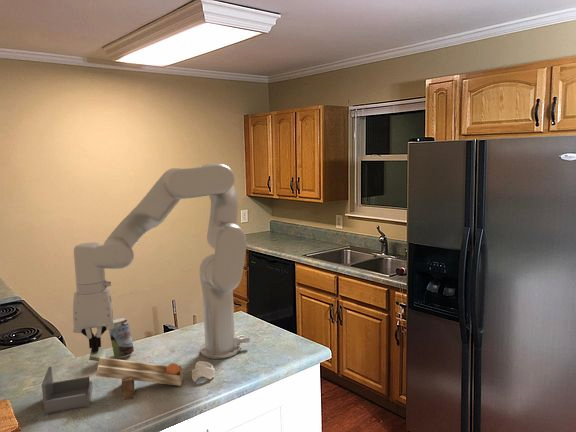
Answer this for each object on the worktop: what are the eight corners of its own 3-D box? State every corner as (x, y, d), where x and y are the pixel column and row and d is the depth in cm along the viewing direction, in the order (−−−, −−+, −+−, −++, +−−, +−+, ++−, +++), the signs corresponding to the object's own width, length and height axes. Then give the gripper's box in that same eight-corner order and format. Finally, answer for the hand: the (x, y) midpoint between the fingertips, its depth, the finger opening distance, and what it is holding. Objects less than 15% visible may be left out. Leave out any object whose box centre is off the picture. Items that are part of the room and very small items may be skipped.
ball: (177, 373, 130) (180, 361, 130) (178, 379, 127) (181, 367, 127) (164, 372, 129) (167, 360, 129) (165, 378, 126) (168, 366, 126)
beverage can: (127, 360, 143) (124, 323, 141) (106, 359, 145) (103, 322, 143) (138, 352, 149) (135, 316, 147) (117, 350, 151) (114, 315, 149)
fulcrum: (134, 381, 130) (132, 363, 129) (134, 398, 121) (133, 379, 120) (123, 383, 129) (121, 364, 128) (122, 400, 120) (120, 381, 119)
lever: (174, 364, 141) (177, 351, 141) (179, 390, 126) (183, 376, 126) (90, 353, 133) (93, 340, 133) (84, 380, 117) (88, 364, 117)
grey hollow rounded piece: (189, 376, 134) (186, 360, 134) (212, 369, 137) (209, 353, 136) (195, 386, 127) (192, 370, 126) (218, 379, 130) (216, 363, 129)
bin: (92, 388, 127) (90, 360, 126) (89, 407, 117) (86, 377, 116) (51, 395, 124) (48, 366, 122) (44, 415, 114) (41, 384, 113)
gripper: (120, 281, 134) (123, 341, 137) (63, 286, 130) (68, 348, 132) (119, 288, 127) (123, 351, 130) (59, 293, 123) (64, 359, 125)
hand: (95, 349), depth 131 cm, fingers closed
